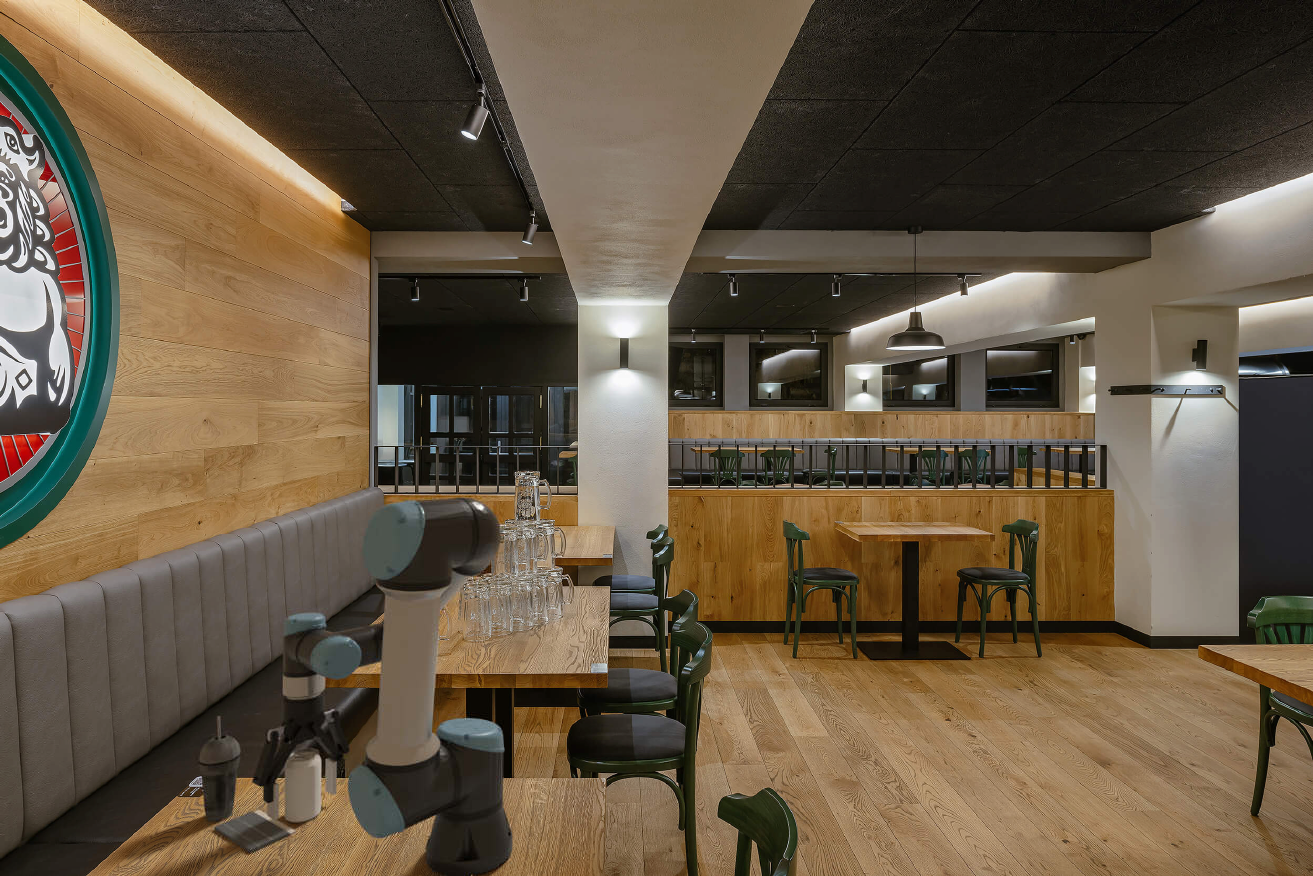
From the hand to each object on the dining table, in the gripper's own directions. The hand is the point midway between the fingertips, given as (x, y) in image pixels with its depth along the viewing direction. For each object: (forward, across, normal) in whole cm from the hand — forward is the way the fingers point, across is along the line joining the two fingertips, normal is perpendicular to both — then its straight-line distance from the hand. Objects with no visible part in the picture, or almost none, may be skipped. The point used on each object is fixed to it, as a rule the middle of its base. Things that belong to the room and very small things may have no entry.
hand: (302, 804), depth 142 cm
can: (+2, 0, 0) cm, 2 cm away
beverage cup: (+2, +10, -13) cm, 16 cm away
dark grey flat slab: (+2, +8, -2) cm, 8 cm away
